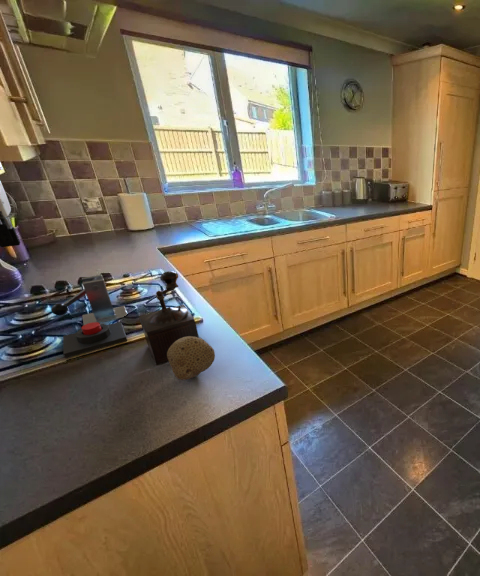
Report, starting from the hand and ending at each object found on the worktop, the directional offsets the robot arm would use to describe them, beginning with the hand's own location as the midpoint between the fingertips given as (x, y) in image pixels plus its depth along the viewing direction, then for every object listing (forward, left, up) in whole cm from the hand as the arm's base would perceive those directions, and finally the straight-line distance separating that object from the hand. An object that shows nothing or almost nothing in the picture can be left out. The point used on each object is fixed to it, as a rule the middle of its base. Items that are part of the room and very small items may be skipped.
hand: (10, 245), depth 77 cm
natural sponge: (+25, -41, -25) cm, 54 cm away
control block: (+9, -12, -25) cm, 29 cm away
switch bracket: (+12, +2, -25) cm, 28 cm away
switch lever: (+8, +2, -18) cm, 20 cm away
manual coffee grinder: (+24, -24, -25) cm, 42 cm away
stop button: (+9, -12, -22) cm, 26 cm away
